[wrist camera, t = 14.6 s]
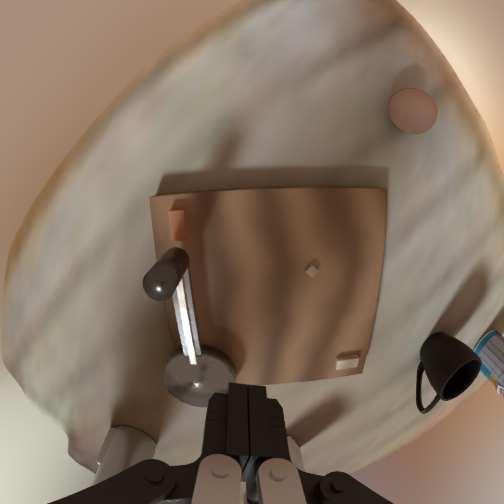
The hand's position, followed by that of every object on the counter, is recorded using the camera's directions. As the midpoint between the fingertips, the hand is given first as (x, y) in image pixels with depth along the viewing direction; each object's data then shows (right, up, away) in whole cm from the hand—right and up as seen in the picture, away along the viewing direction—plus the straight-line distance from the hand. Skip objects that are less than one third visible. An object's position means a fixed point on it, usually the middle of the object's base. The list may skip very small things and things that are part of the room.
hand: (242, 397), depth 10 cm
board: (+3, +1, +22) cm, 22 cm away
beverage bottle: (+47, -13, +27) cm, 56 cm away
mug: (+29, -11, +26) cm, 40 cm away
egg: (+17, +22, +16) cm, 32 cm away
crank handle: (-6, -3, +20) cm, 22 cm away
